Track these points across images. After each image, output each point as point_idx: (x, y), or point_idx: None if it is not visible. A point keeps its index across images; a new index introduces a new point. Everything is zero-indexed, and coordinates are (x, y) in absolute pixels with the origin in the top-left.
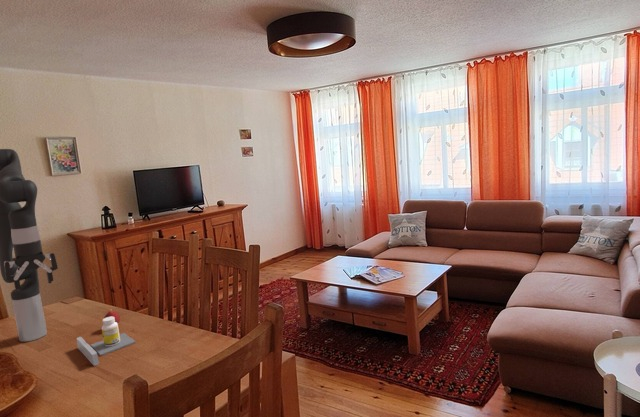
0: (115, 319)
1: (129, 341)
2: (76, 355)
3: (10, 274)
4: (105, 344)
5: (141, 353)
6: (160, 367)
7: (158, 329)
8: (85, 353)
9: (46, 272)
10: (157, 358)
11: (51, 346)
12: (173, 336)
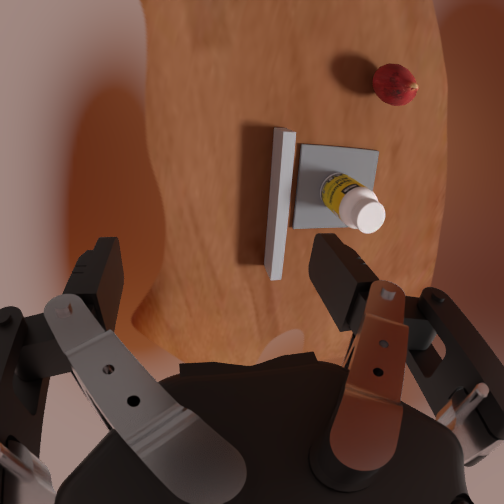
0: (399, 105)
1: None
2: (256, 172)
3: (44, 406)
4: (321, 197)
5: None
6: (326, 343)
7: (418, 200)
8: (271, 208)
9: (355, 285)
10: None
11: (226, 41)
12: (406, 258)
